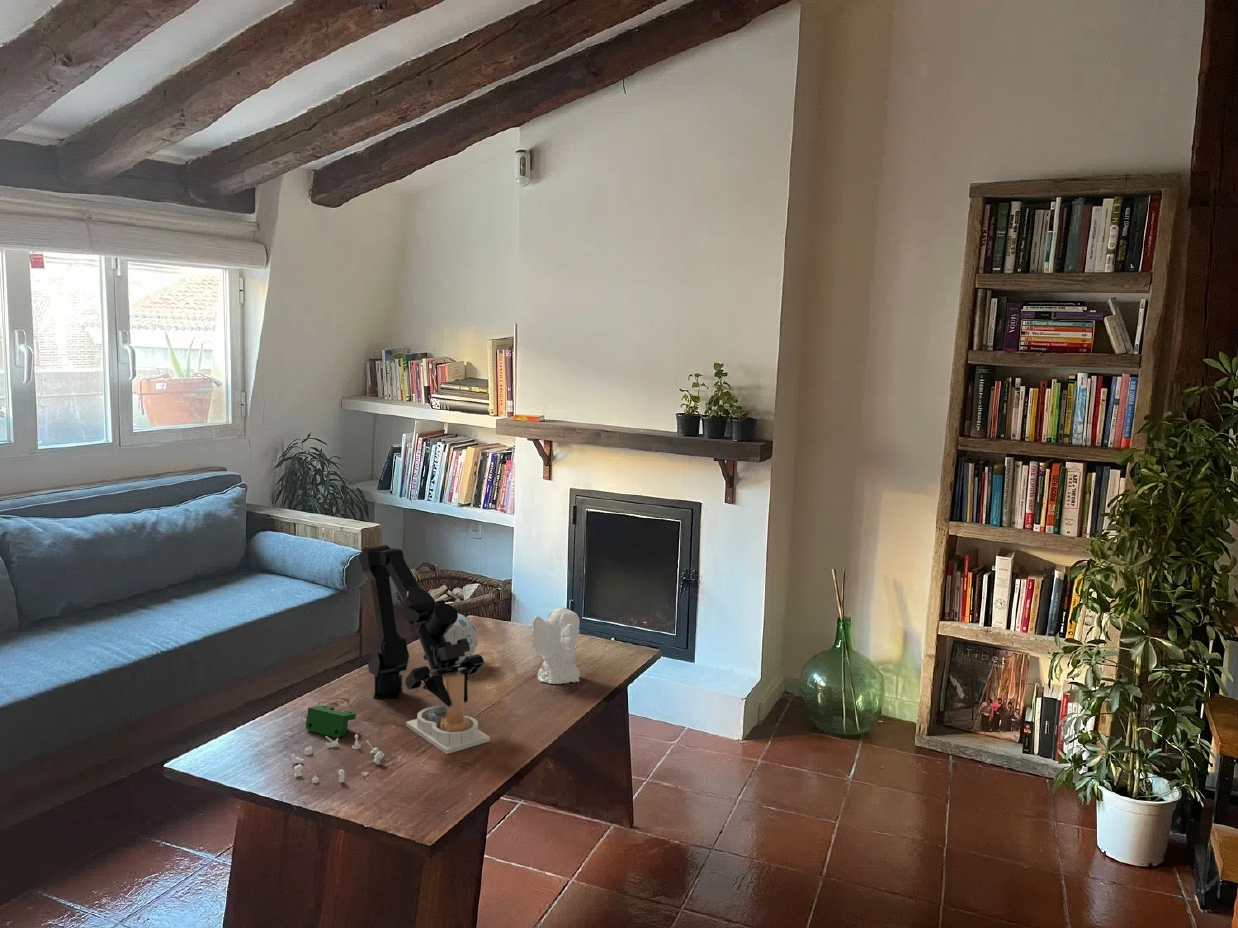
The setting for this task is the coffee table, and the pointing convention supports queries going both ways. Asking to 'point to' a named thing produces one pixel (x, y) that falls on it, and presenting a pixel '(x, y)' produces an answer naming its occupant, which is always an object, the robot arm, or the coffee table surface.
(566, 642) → the cherub figurine
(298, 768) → the game piece set
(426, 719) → the housing
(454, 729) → the knob on notched ring
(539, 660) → the coffee table surface
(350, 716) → the clamp
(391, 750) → the coffee table surface
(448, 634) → the puzzle ball
